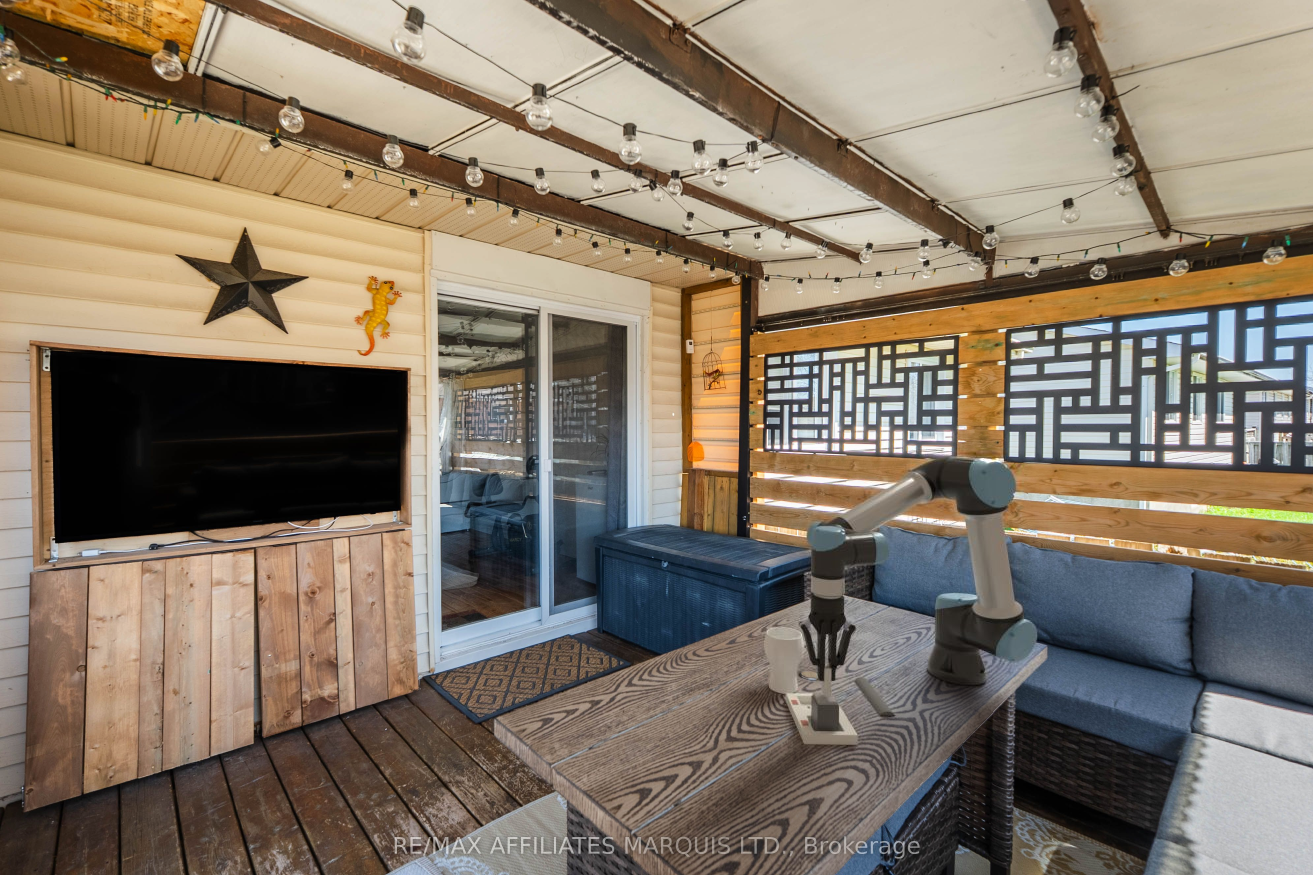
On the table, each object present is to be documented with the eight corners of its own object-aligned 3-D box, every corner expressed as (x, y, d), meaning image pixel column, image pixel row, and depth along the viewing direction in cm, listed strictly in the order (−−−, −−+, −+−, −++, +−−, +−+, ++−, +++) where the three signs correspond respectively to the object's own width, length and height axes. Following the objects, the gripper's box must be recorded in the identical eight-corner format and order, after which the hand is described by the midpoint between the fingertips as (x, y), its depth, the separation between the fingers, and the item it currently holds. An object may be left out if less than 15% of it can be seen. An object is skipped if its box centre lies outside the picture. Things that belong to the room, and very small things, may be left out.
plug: (831, 724, 140) (832, 691, 140) (838, 736, 135) (839, 701, 135) (810, 724, 140) (811, 691, 140) (817, 736, 135) (817, 701, 135)
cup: (804, 698, 154) (805, 641, 154) (763, 694, 157) (763, 638, 156) (802, 680, 165) (803, 627, 164) (763, 677, 167) (764, 624, 167)
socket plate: (832, 701, 153) (832, 693, 153) (857, 744, 133) (857, 734, 133) (785, 701, 153) (785, 692, 153) (804, 743, 133) (804, 733, 133)
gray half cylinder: (868, 683, 165) (868, 676, 165) (896, 718, 146) (896, 711, 146) (853, 683, 165) (853, 676, 165) (879, 718, 146) (879, 711, 146)
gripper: (850, 589, 140) (849, 686, 141) (795, 588, 140) (794, 686, 141) (861, 598, 133) (859, 701, 134) (803, 598, 133) (802, 701, 134)
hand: (826, 693), depth 137 cm, fingers closed
